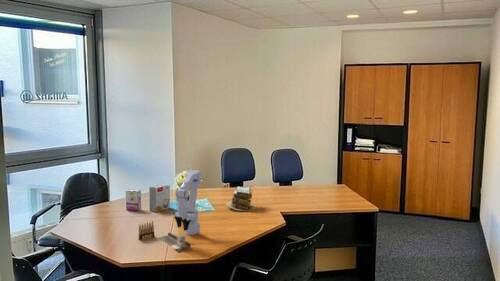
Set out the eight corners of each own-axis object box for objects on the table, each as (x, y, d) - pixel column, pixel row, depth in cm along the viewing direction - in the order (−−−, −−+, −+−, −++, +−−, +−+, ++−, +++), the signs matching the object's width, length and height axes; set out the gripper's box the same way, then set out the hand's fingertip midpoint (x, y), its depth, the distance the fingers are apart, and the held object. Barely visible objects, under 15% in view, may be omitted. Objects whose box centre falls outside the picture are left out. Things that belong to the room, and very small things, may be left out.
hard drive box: (155, 212, 329) (155, 188, 326) (149, 210, 334) (148, 186, 331) (170, 208, 341) (169, 184, 339) (164, 206, 346) (163, 183, 343)
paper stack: (259, 205, 352) (259, 186, 350) (251, 213, 328) (251, 192, 326) (231, 202, 359) (231, 184, 357) (221, 210, 335) (221, 190, 333)
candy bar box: (141, 209, 337) (141, 189, 335) (138, 211, 332) (138, 191, 330) (129, 208, 339) (128, 189, 337) (126, 210, 334) (125, 190, 332)
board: (169, 236, 275) (169, 232, 274) (190, 248, 255) (190, 243, 255) (157, 240, 269) (157, 235, 269) (177, 252, 249) (177, 247, 249)
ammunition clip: (153, 238, 273) (153, 220, 271) (154, 238, 271) (154, 221, 270) (138, 241, 266) (137, 223, 264) (139, 242, 264) (139, 224, 263)
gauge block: (182, 243, 259) (182, 234, 259) (185, 245, 256) (185, 236, 256) (176, 245, 257) (176, 235, 256) (180, 246, 254) (180, 237, 253)
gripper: (170, 206, 263) (171, 227, 265) (182, 211, 252) (183, 233, 254) (180, 204, 268) (180, 224, 269) (192, 209, 257) (192, 230, 258)
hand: (182, 228), depth 262 cm, fingers open, 7 cm apart
